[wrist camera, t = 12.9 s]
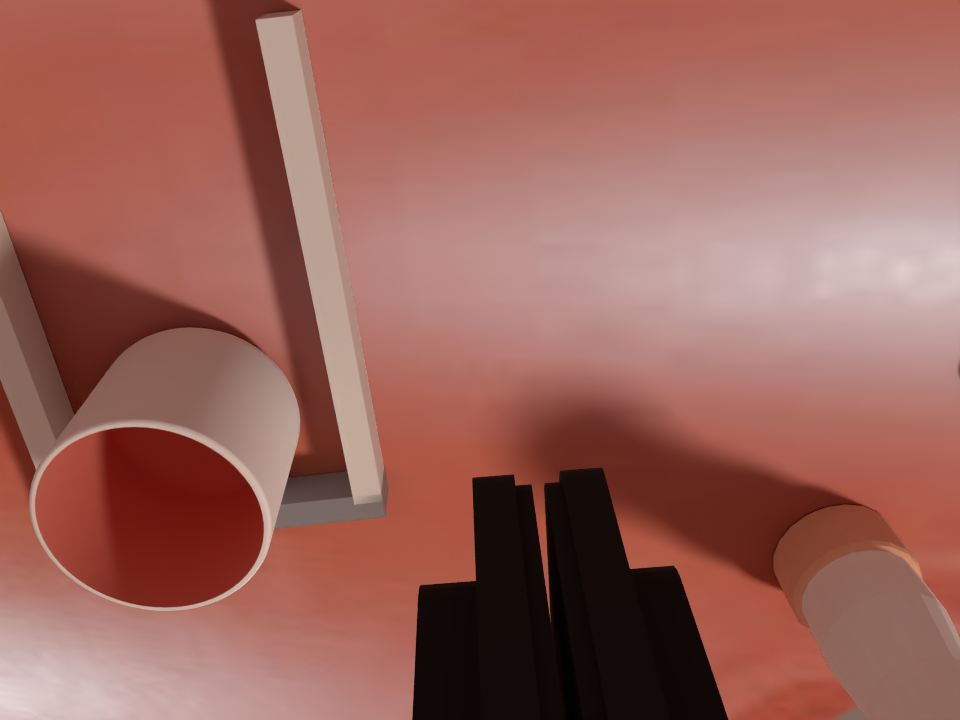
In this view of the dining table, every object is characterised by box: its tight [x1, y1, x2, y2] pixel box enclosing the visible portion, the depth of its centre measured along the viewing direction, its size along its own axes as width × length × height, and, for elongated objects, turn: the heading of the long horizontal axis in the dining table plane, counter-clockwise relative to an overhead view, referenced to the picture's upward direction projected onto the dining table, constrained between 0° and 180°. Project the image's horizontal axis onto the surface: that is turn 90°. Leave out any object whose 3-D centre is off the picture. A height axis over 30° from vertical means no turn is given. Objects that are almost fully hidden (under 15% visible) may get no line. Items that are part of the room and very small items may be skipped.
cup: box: [29, 327, 300, 611], centre depth 41 cm, size 10×10×10 cm
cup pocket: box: [0, 10, 388, 529], centre depth 42 cm, size 25×17×2 cm
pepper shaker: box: [773, 504, 960, 720], centre depth 43 cm, size 7×7×19 cm
